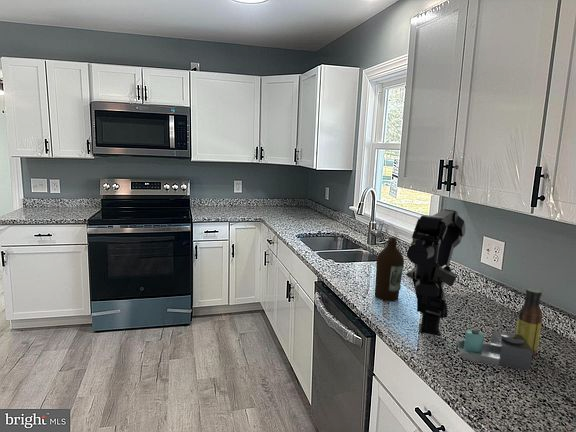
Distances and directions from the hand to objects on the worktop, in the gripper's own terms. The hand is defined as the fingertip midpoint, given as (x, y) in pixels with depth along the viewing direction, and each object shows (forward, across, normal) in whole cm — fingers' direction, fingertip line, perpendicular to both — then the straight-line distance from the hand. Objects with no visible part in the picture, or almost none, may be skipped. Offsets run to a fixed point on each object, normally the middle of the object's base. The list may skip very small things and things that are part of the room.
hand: (421, 307), depth 121 cm
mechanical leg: (+12, +76, -7) cm, 77 cm away
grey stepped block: (+12, 0, -21) cm, 24 cm away
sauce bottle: (+12, +7, -32) cm, 35 cm away
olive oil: (+12, +39, +9) cm, 42 cm away
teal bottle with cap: (+12, 0, -16) cm, 20 cm away
